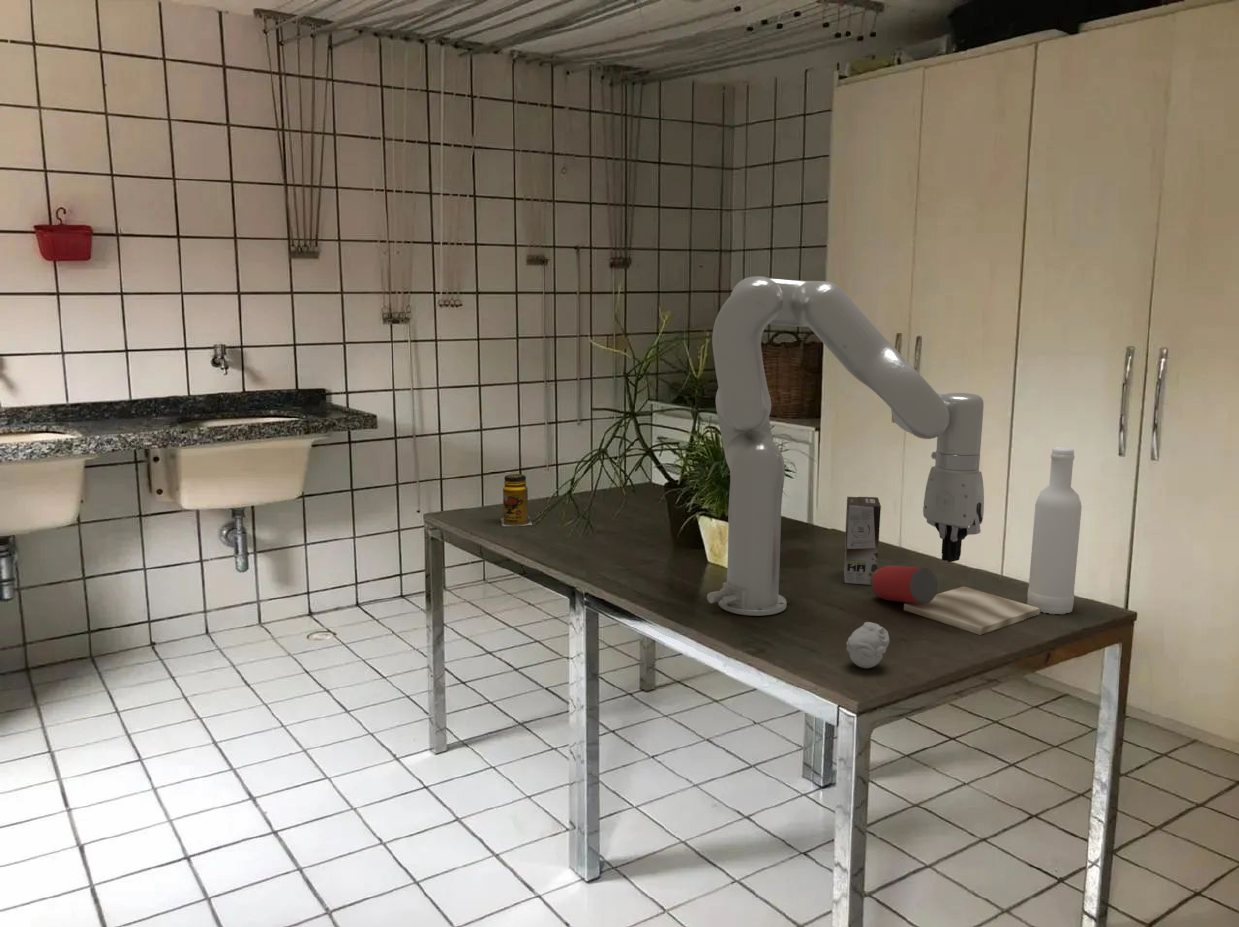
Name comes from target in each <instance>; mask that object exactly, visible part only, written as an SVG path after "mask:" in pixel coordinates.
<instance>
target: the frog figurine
mask: <svg viewBox="0 0 1239 927" xmlns="http://www.w3.org/2000/svg"><path fill="white" fill-rule="evenodd" d="M889 644H890V636H889V631H888V630H886V629H885V628H884V627H883V626H881V625H880V624H878V623H874V622H870V621H866V622H864V623H863V625H861V626H860V627H858V628H856V629H855V630H854V631H853V632H851V634H850V636H849V637H848V639H847V641H846V651H847V652H848V653H849V656H850V660H851V661H852V663H854V664H855V665H856V666H857V667H859V668H861V669H870V668H874V667H875V666H877V665H878V664H879V663H880V661H882V659H883V655H884V654H885V653H887V652H886V651H887V648H888V646H889Z"/></svg>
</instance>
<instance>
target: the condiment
mask: <svg viewBox="0 0 1239 927" xmlns="http://www.w3.org/2000/svg"><path fill="white" fill-rule="evenodd" d="M503 479H504V483H503V484H504V486H503V487H502V492H503V493H502V494H503V495H502V496H503V498H502V499H503V500H502V502H503V503H502V506H503V507H502V508H503V517H502V518H501V517H500V521H501V526H502V527H520V526H521V527H523V526H532V525H533V523H532V521H531V516H529V501H528V499H529V498H528V497H529V493H528V492H529V490H528V486H527V482H526V481H527V480H526V479H527V477H526V475H525V474H521V473H514V474H513V473H511V474H507V475H504V478H503Z"/></svg>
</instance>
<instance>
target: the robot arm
mask: <svg viewBox="0 0 1239 927" xmlns="http://www.w3.org/2000/svg"><path fill="white" fill-rule="evenodd" d="M768 325H774V326H786V327H800V328H802V327H803V328H809V329H810V330H811V331H812V332H813V333H814V334H815V335H816V336H817V337H816V338H818V339H819V340H820V341H821V342H822V344H823V345H825V347H826V348H827V349H828V350H829V351H830V352H831V354H832V355H833V356H834V357H835V358H836V359H837V360H838V362H840V363H841V365H842V366H843V367H844V369H845V370H847V372H849V373H850V375H852V376H853V377H854V378H855V379H857V380H858V381H859V382H861V383H862V384H863V385H865V386H866V387H868V388H869V389H870V390H872V391H873V392H874V393H875V394H876V395H877V396H878V397H879V398H880V399H882V400H883V402H884V403H885V404H886V405H887V407H889V408H890V409H891V416H892V419H893V421H894V423H895V424H896V425H897V426H898V427H899V428H900V429H902V430H903V431H906V432H907V433H909V434H911V435H913V436H914V437H917V438H919V439H923V440H931V439H935V438H936V449H935V451H932V453H931V457H930V458H931V459H932V460H935V465H934V466H931V468H930V470H929V473H928V476H927V481H926V485H925V491H924V492H925V493H924V499H923V507H922V514H923V517H924V518H925V519H926V523H927V524H929V525H930V526H932V527H934V528H935V529H936V530H937V532H938V533H939V538H940V539H941V540H942V541H941V542H942V543H941V560H942V561H943V562H948V563H952V562H957V561H960V558H961V555H962V540H965V539H966V537H967V536H970V535H972V536H973V535H978V534H981V525H982V523H983V519H984V512H985V511H984V510H985V490H984V488H985V486H984V479H983V472H982V471H980V462H981V449H982V448H981V446H982V436H983V435H982V434H983V432H982V431H983V421H984V420H983V419H984V418H983V417H984V406H985V404H984V400H983V398H982V397H981V396H980V395H978V394H974V393H968V392H951V393H950V392H949V393H945V394H944V393H937V392H936V390H935V389H934V388H933V387H932V386H931V385H930V384H929V383H928V381H926V379H925V378H924V377H923V376H922V375H921V374H920V373H919V372H918V371H917V370H916V369H915V368H914V367H913V366H912V365H911V363H910V362H908V361H907V359H906V358H904V356H902V355H901V353H900V352H899V351H898V350H897V349H896V348H895V346H894V345H892V343H890V342H889V341H888V340H887V339H886V337H885V336H884V335H883V334H882V333H881V332H880V331H879V330H878V328H877V327H876V326H875V325H874V324H873V323H872V322H871V320H870V319H869V318H868V317H867V316H866V314H864V313H863V312H862V310H861V309H860V308H859V307H858V306H857V304H855V302H854V301H853V300H852V298H850V297H849V295H848V294H847V293H846V292H845V291H844V290H843V289H842V288H841V287H840V286H839V285H837V284H835V283H834V282H832V281H827V280H796V279H795V280H794V279H783V278H773V277H772V278H771V277H767V276H763V275H762V276H761V275H760V276H759V275H756V276H748V277H746V278H743V279H742V280H740V281H739V282H738V283H736V284H735V286H734V287H733V289H732V291H731V293H730V296H729V297H728V298H727V299H726V300H725V302H724V303H723V305H722V306H721V308H720V310H719V311H718V313H717V316H716V318H715V321H714V325H713V327H712V328H713V329H712V335H711V336H712V338H711V343H712V353H713V361H714V367H715V374H716V375H715V376H716V380H717V387H718V388H717V391H716V395H715V408H716V415H717V419H718V420H717V421H718V425H719V430H720V431H719V432H720V435H721V442H722V447H723V452H724V457H725V461H726V464H727V467H728V468H729V469H728V470H729V471H730V472H729V475H730V479H729V480H730V481H729V482H730V484H729V496H728V514H727V515H728V520H727V522H728V533H727V534H728V535H727V538H728V539H727V565H726V566H727V569H726V570H727V571H726V573H727V574H726V575H727V576H726V581H725V582H723V583H722V588H720V589H719V590H716V591H711V592H708V593H707V595H706V600H707V601H708V603H710V604H713V603H717V605H718V606H719V607H720V608H721V609H722V610H725V611H727V612H729V613H732V614H736V615H741V616H754V617H756V616H757V617H758V616H761V617H762V616H763V617H764V616H772V615H776V614H779V613H782V612H783V611H785V610H786V608H787V603H788V602H787V599H786V598H785V597H784V596H782V595H781V594H779V587H780V586H779V585H780V583H779V582H780V561H781V560H780V558H781V530H782V529H781V527H782V526H781V525H782V524H781V523H782V506H783V505H782V502H783V492H784V483H785V474H786V473H785V472H786V468H785V466H786V465H785V459H784V456H783V454H782V451H781V449H780V448H779V447H778V445H777V444H776V443H775V442H774V439H773V432H772V426H771V423H770V422H771V421H770V415H771V412H772V411H771V410H772V400H771V395H770V392H769V387H768V383H767V378H766V377H767V376H766V373H765V368H764V361H763V360H764V359H763V351H762V336H763V333H764V330H765V329H766V327H767V326H768Z"/></svg>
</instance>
